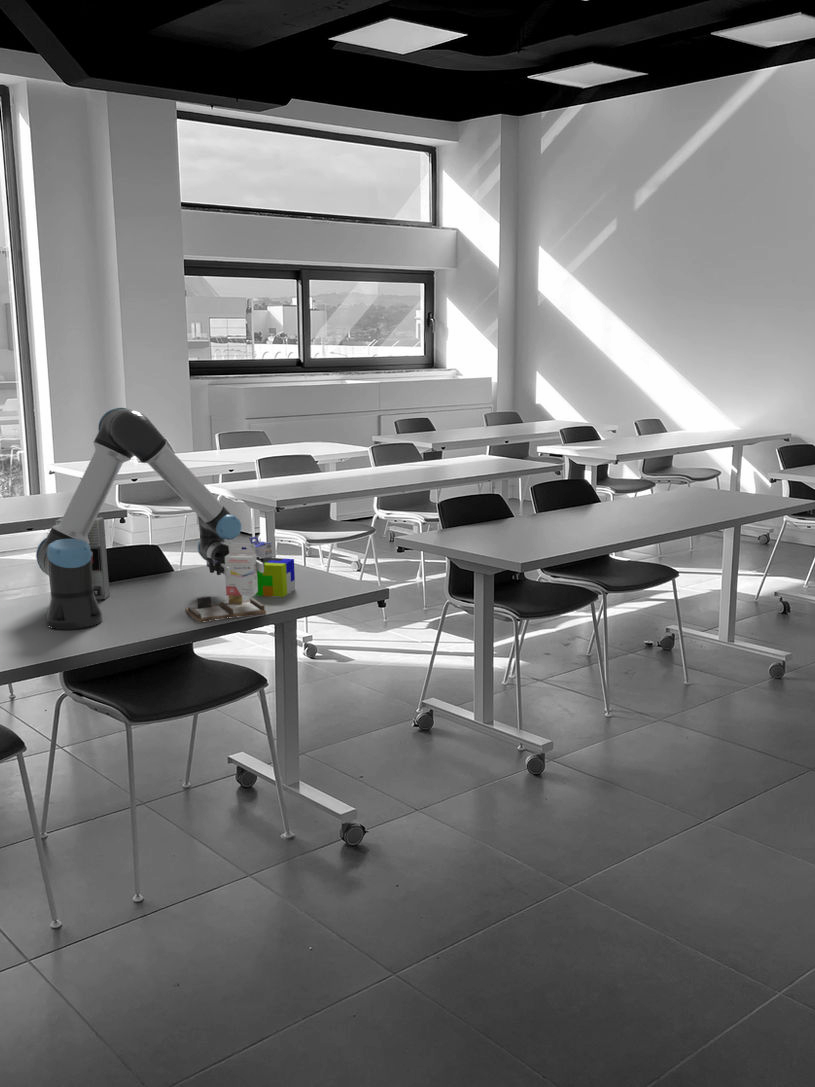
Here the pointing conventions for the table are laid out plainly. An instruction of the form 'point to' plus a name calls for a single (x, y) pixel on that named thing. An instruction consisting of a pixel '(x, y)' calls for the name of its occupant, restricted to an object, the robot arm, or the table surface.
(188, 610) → the tag dock board
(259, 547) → the ink cartridge box
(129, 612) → the table surface
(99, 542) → the tall grey box
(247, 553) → the ink cartridge box
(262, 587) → the puzzle toy
